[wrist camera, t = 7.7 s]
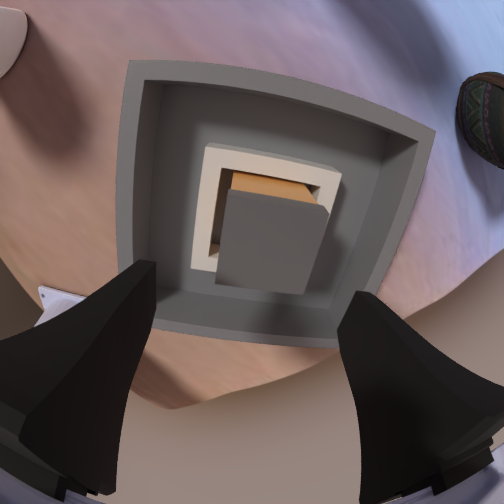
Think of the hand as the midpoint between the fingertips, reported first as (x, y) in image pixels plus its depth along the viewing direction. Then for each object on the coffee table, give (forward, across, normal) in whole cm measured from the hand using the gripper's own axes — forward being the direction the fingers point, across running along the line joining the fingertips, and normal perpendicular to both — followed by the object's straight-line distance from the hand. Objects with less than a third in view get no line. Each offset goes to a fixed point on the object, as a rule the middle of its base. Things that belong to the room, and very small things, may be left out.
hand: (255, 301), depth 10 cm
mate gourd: (+10, -16, -12) cm, 22 cm away
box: (+9, -1, 0) cm, 9 cm away
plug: (+9, -1, -1) cm, 9 cm away
